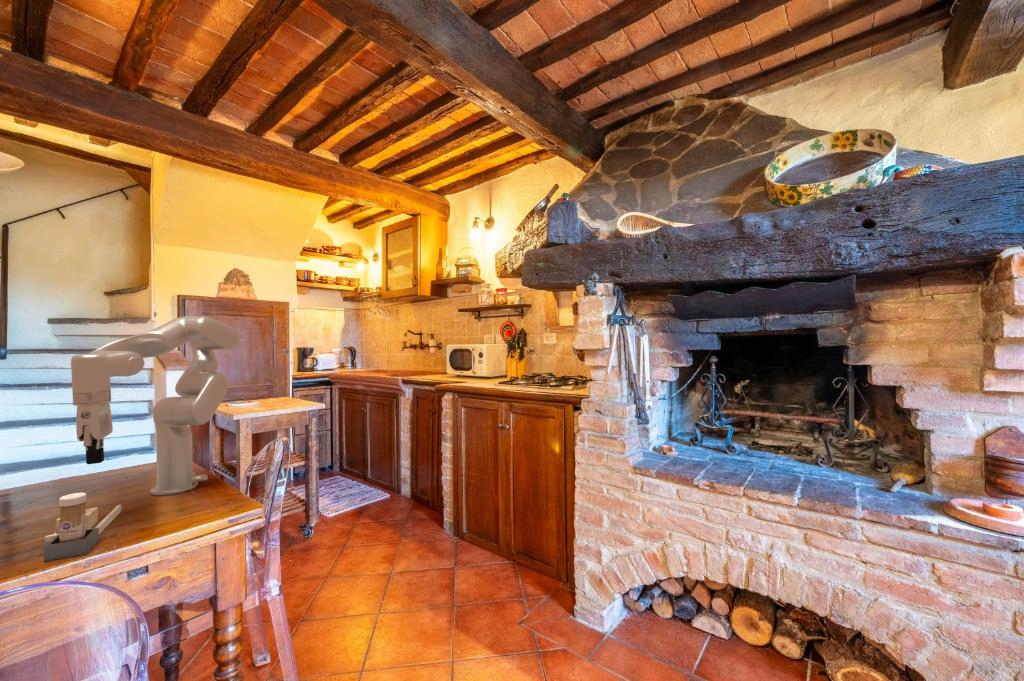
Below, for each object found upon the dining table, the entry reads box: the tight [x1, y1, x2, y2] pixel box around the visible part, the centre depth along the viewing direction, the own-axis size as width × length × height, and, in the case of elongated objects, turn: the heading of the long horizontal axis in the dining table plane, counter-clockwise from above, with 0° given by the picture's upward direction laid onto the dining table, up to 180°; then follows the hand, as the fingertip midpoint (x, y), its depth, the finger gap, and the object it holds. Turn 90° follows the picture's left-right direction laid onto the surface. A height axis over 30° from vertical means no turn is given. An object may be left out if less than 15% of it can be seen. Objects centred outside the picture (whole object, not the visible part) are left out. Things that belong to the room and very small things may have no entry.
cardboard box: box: [55, 506, 99, 534], centre depth 107 cm, size 6×6×6 cm
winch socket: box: [43, 527, 100, 562], centre depth 100 cm, size 7×7×4 cm
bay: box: [44, 504, 122, 546], centre depth 112 cm, size 9×21×3 cm, turn 29°
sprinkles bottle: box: [58, 492, 87, 543], centre depth 101 cm, size 5×5×14 cm
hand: (95, 462), depth 116 cm, fingers closed
